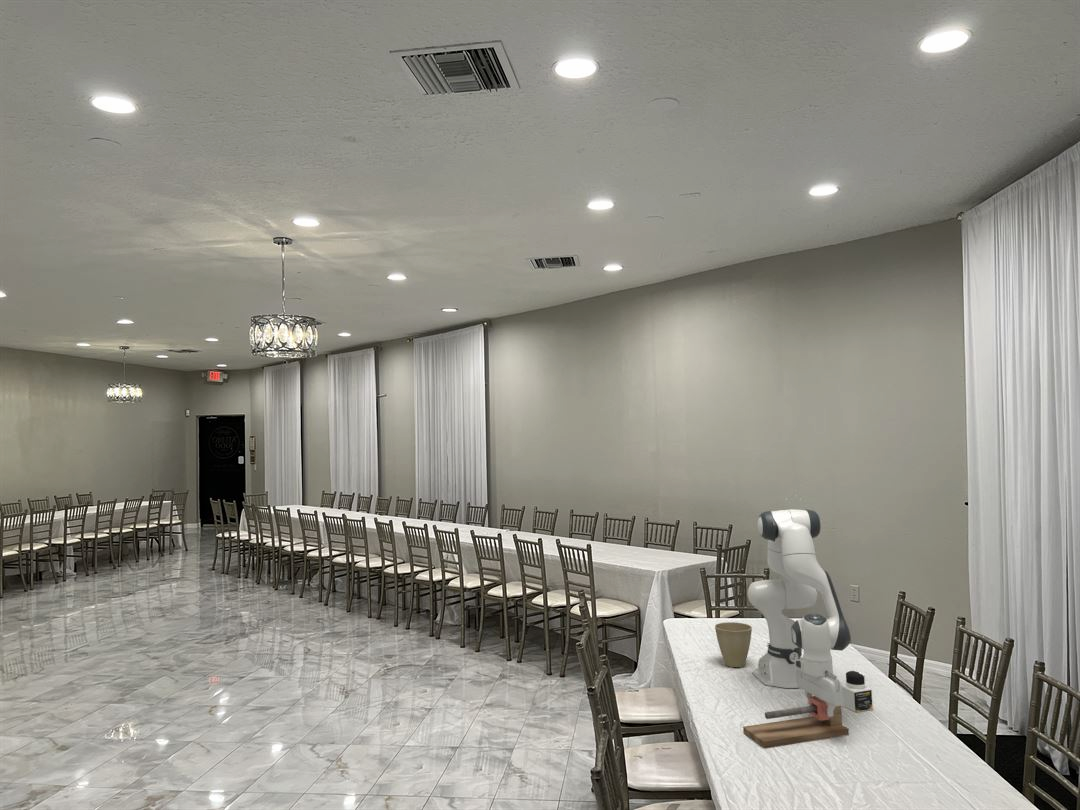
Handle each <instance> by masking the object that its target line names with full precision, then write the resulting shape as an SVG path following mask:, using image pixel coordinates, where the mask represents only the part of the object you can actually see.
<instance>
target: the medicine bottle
mask: <svg viewBox="0 0 1080 810" xmlns="http://www.w3.org/2000/svg"><path fill="white" fill-rule="evenodd" d="M845 681H846V684H841V686H842V691H843V699H844V703H843V706H842V707H844V708H847V709H848V710H850V711H852V712H854V713H860V712H861V711H862V712H867V711H866V710H868V711H872V710H873V709H874V708H873V693H872V688H870V687H868V686H866V675H865V674H864V673H863V672H861V671H858V670H849V671H847V672H846V673H845Z"/></svg>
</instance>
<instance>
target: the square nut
mask: <svg viewBox="0 0 1080 810" xmlns="http://www.w3.org/2000/svg"><path fill="white" fill-rule="evenodd" d="M812 705H816V706H817V712H812V713H809V715H810V716H813V717H815V718H817V719H818V720H820V721H822V720H829V719H830V717H829V716H827V715H826V711H825V710H827V709H828V706H827V703H826V702H825V701H823V700H821V699H819V698H817V697H816V696H814V695H812V696H811V697H809V705H808V706H812Z"/></svg>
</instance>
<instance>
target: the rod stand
mask: <svg viewBox="0 0 1080 810" xmlns="http://www.w3.org/2000/svg"><path fill="white" fill-rule="evenodd" d="M812 712H817V706H816V705H812V706H809V705H808V706H799V707H793V708H786V709H780V710H771V711H766V712H764V717H765V719H766V720H771V719H777V718H785V717H792V716H797V715H803V714H810V713H812ZM842 713H843V712H842V706H835V709H834V711H833V717H830V719H829V720H822V721H820V720H818V719H817V718H815V717H813V716H812V715H810V716H805V717H799V718H792V719H786V720H780V721H779V720H778V721H774V722H773V721H772V722H766V723H759V724H753V725H752V724H751V725H746V726H743V727H742V728H743V729H742V730H743V734H744V735H745V734H746V736H747V737H748V738H749V737H750V738H749V739H751V740H752V741H754V742H755V743H756V744H758V745H759V746H760V747H762V749H769V748H775V746H776V747H781V746H780V745H782V746H787V745H795V744H800V743H806V741H807V742H813V741H819V740H826V739H832V738H837V737H838V736H839V737H845V736H849V735H850V732H849V727H847V726H845V725H843V714H842ZM844 735H845V736H844ZM831 737H832V738H831Z"/></svg>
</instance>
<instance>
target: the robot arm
mask: <svg viewBox="0 0 1080 810" xmlns="http://www.w3.org/2000/svg"><path fill="white" fill-rule="evenodd" d="M821 528H822V521H821V519H820V515H819V514H818V513H817V512H816V511H815V510H812V509H804V510H803V509H792V508H791V509H790V508H789V509H782V510H781V509H779V510H772V511H771V510H767V511H763V512H761V513H760V514H759V516H758V519H757V530H758V532H759V535H760V537H761V538H763V539H764V540H766V541H767V560H766V561H767V565H768V568H769V569H770V570H771V571H772V572H774V573H776V574H778V575H780V576H782V578H780V579H763V580H757V581H753V582H751V584H750V585H749V586H748V589H747V597H748V601H749V603H750V604H751V605H752V606H753V607H754V608H755V609H757V610H758V611H759V612H760V613H761V614H762V615H763V617H764V619H765V620H766V624H767V627H768V637H769V642H768V643H766V644H767V645H766V647H767V651H766V653H765V654H764V655H762V656H761V657H759V659H758V663H757V666H758V668H757V669H756V668H755V669H754V670H752V674H753V675H754V677H756V678H757V679H758V680H759V681H760V682H761V683H762V684H763V685H764V686H768V687H770V686H771V687H777V688H781V689H782V688H783V689H797V688H799V689H802V690H803V691H804V695H805V698H806V700H807V705H808V706H809V697H811V696H816V697H817V698H819V699H821V700H823V701H825V702H826V703H827V706H828V709H827V710H825V711H826V715H827V716H829V717H833V711H834V709H835V706H841V707H843V706H842V705H843V703H844V699H843V691H842V686H841V685H842V684H841V681H840V680H839V679H838V677H837V675H835V674H834V671H833V670H834V669H833V657H832V653H831V650H832V651H839V652H840V651H843V650H845V649H846V648H847V647H848V646H849V645H850V644H851V642H852V637H851V631H850V628H849V626H848V623H847V621H846V618H845V617H844V613H843V611H842V608H841V604H840V602H839V599H838V595H837V593H836V590H835V587H834V584H833V582H832V579H831V576H830V574H829V573H828V571H826V570H824V569H823V568H822V567H821V566H820V563H819V561H818V560H817V554H816V550H815V549H816V548H815V545H814V541H813V539H814V538H817V537H818V536H819V535H820V532H821V530H822V529H821ZM817 591H818V592H819V593H820V594H821V597H822V599H823V602H824V605H825V608H826V612H827V615H828V618H827V617H825V616H824V615H821V614H818V613H809V614H805V615H804V616H802V619H796V620H794V619H792V618H790V617H788V616H786V615H784V614H783V610H788V609H791V610H792V609H793V610H794V609H804V608H810V607H813V606H814V605H815V604H816V602H817V599H818V592H817Z"/></svg>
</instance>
